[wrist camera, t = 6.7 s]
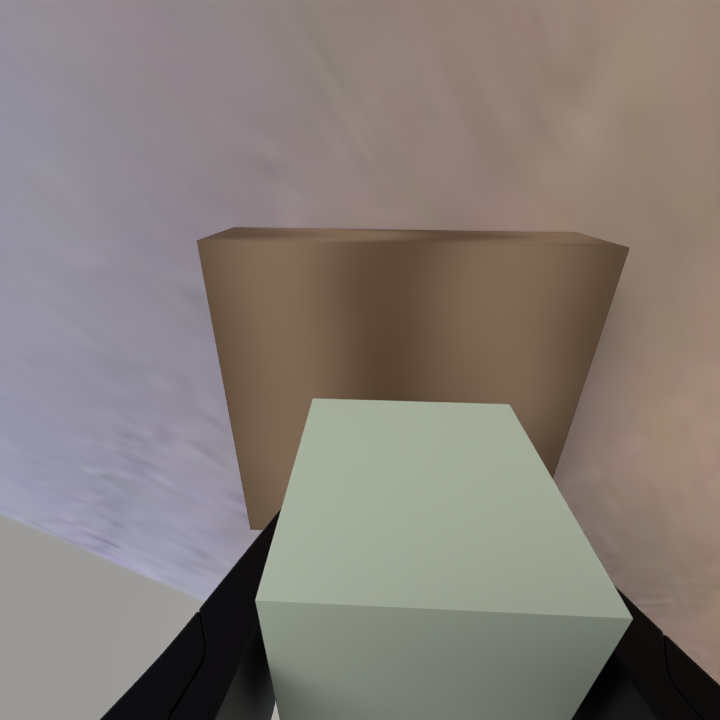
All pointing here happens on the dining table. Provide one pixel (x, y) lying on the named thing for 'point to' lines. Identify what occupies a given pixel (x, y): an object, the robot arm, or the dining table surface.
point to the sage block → (430, 572)
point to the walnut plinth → (399, 329)
